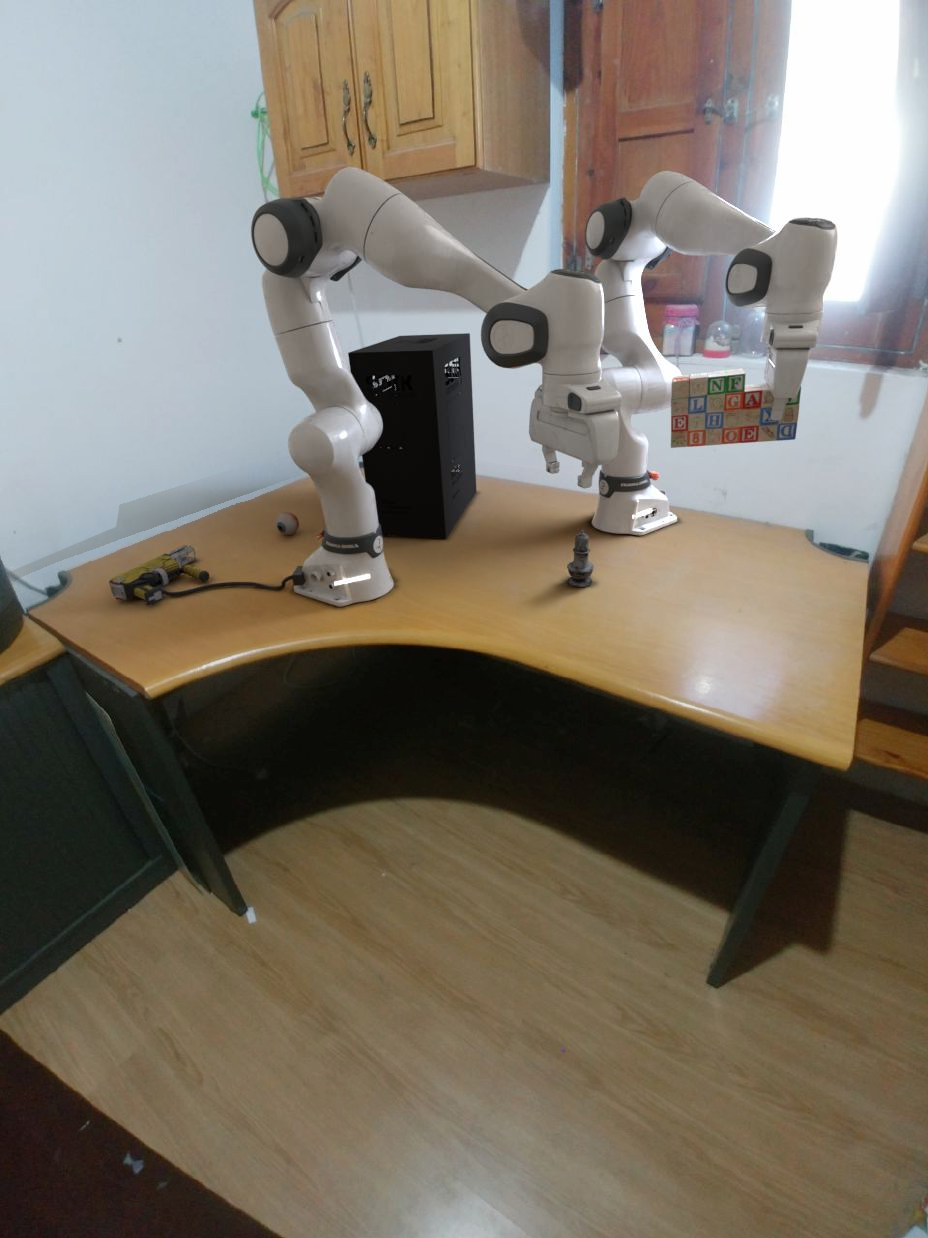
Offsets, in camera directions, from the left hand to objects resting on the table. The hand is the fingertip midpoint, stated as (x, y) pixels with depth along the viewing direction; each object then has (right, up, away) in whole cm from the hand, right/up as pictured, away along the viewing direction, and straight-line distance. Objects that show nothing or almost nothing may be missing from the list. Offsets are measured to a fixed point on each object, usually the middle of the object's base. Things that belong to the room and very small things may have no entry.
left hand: (567, 479), depth 99 cm
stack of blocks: (+33, +11, +15) cm, 38 cm away
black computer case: (-27, +8, +75) cm, 81 cm away
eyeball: (-65, 0, +66) cm, 93 cm away
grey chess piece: (+8, -15, +32) cm, 37 cm away
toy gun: (-85, -15, +42) cm, 96 cm away
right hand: (+39, +14, +10) cm, 43 cm away
